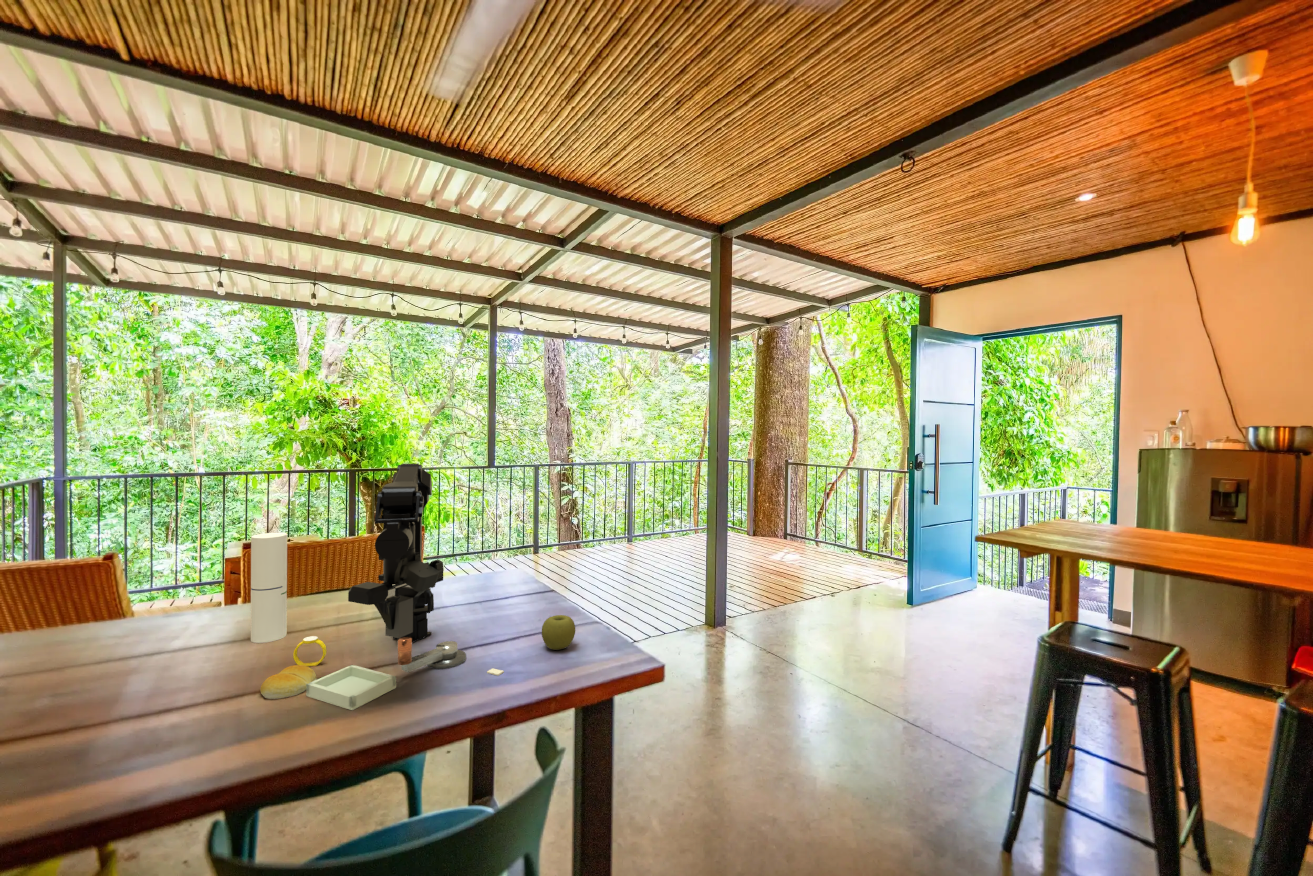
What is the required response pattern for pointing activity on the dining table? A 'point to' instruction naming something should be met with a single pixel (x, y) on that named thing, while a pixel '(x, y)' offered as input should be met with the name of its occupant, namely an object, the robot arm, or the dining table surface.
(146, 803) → the dining table surface
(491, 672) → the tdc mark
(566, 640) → the apple
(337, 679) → the tray
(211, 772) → the dining table surface
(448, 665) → the hub plate
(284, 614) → the cylindrical container
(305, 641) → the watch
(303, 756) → the dining table surface
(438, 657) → the crank
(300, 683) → the bread roll
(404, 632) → the dark gray rectangular block
